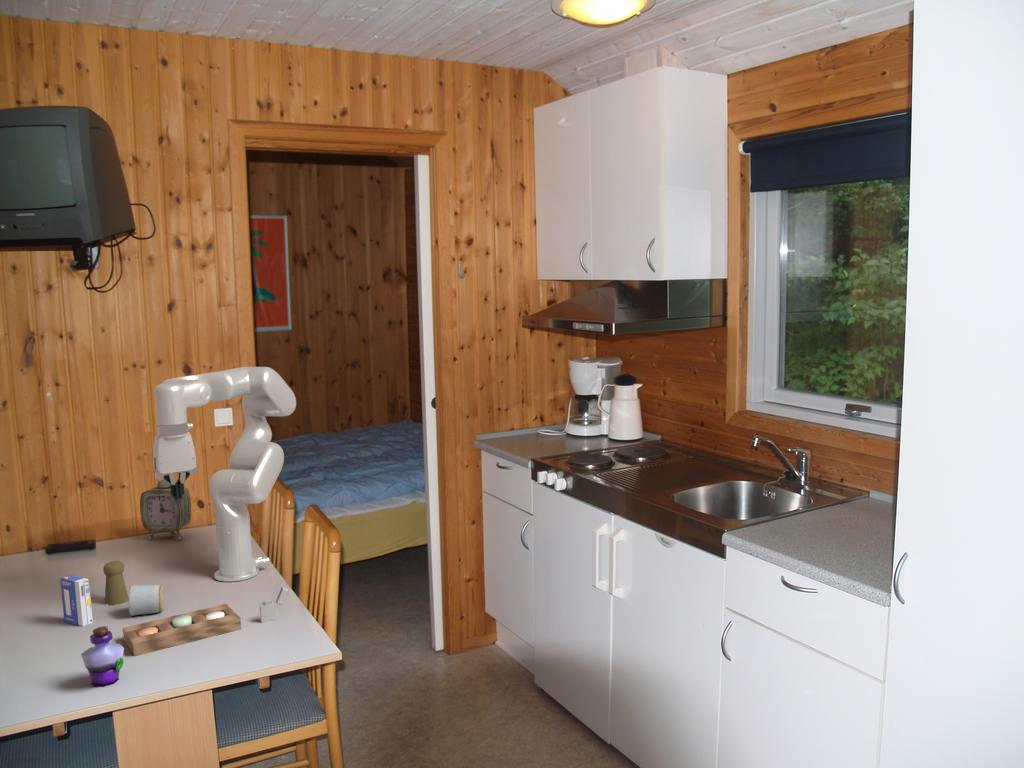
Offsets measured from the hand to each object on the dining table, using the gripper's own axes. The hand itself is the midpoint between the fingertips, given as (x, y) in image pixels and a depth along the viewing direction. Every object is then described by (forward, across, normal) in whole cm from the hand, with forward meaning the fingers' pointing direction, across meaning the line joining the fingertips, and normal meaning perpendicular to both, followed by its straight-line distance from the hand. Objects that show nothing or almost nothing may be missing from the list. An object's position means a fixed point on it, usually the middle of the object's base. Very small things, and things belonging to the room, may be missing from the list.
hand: (178, 497), depth 235 cm
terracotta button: (+28, +15, +22) cm, 39 cm away
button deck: (+29, +7, +22) cm, 37 cm away
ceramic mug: (+29, +10, 0) cm, 31 cm away
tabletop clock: (+29, -12, -68) cm, 75 cm away
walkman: (+29, +26, -4) cm, 39 cm away
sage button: (+27, +7, +22) cm, 36 cm away
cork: (+29, +15, -14) cm, 36 cm away
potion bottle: (+29, +27, +38) cm, 55 cm away
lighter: (+29, -15, +27) cm, 43 cm away
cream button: (+29, -1, +22) cm, 36 cm away
